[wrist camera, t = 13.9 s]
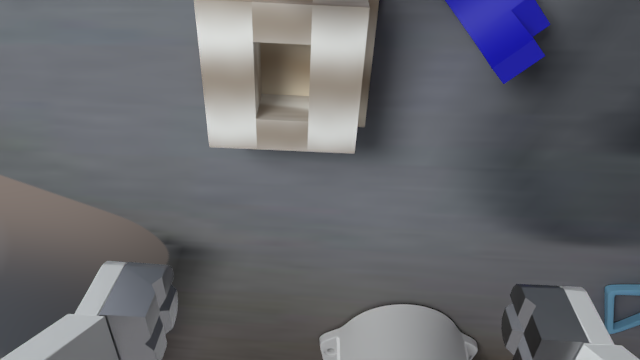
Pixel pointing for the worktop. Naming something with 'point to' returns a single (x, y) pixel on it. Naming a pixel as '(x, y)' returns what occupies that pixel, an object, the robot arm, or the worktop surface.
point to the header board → (286, 72)
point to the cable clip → (503, 32)
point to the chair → (609, 307)
